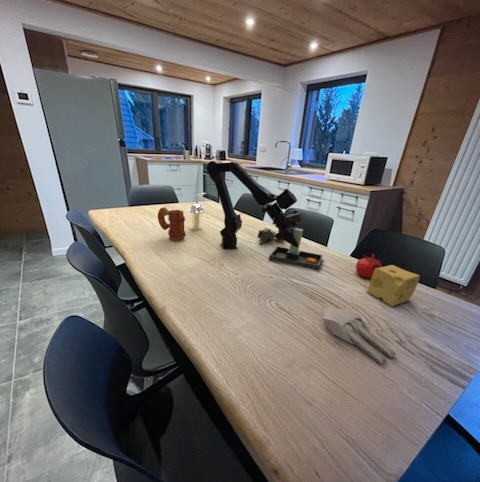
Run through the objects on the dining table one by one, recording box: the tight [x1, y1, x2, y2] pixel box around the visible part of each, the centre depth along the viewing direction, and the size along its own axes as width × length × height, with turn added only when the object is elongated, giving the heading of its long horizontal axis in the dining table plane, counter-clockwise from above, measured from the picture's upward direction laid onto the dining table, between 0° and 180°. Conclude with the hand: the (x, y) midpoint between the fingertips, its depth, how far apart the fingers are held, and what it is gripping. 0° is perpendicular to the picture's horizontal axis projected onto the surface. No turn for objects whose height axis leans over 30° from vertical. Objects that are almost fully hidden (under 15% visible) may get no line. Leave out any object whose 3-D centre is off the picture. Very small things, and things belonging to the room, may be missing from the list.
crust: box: [307, 257, 316, 264], centre depth 115 cm, size 4×4×2 cm
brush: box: [286, 227, 304, 261], centre depth 115 cm, size 5×5×14 cm
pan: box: [268, 246, 324, 271], centre depth 117 cm, size 21×13×3 cm, turn 68°
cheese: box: [367, 264, 421, 307], centre depth 92 cm, size 10×11×10 cm
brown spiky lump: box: [256, 227, 285, 246], centre depth 137 cm, size 12×11×15 cm
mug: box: [157, 206, 187, 242], centre depth 130 cm, size 15×8×15 cm, turn 71°
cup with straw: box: [188, 192, 207, 231], centre depth 146 cm, size 8×9×20 cm
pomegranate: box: [355, 253, 383, 280], centre depth 107 cm, size 10×10×9 cm
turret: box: [322, 307, 396, 365], centre depth 71 cm, size 10×20×5 cm, turn 34°
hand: (298, 245), depth 115 cm, fingers closed on brush, 3 cm apart
